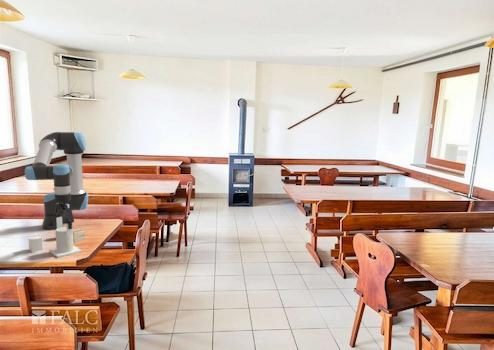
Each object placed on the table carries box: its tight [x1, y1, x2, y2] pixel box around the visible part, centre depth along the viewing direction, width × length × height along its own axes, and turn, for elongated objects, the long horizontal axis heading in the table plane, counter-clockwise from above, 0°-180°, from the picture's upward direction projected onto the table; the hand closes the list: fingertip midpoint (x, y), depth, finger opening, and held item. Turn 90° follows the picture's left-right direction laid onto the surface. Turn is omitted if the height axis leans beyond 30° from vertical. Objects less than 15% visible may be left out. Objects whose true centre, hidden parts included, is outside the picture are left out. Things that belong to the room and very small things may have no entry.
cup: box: [55, 227, 75, 253], centre depth 174 cm, size 8×8×12 cm
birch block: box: [73, 228, 86, 244], centre depth 193 cm, size 6×6×6 cm
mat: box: [48, 245, 83, 259], centre depth 175 cm, size 12×12×1 cm
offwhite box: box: [28, 235, 44, 253], centre depth 176 cm, size 5×5×7 cm
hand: (64, 231), depth 174 cm, fingers open, 13 cm apart
